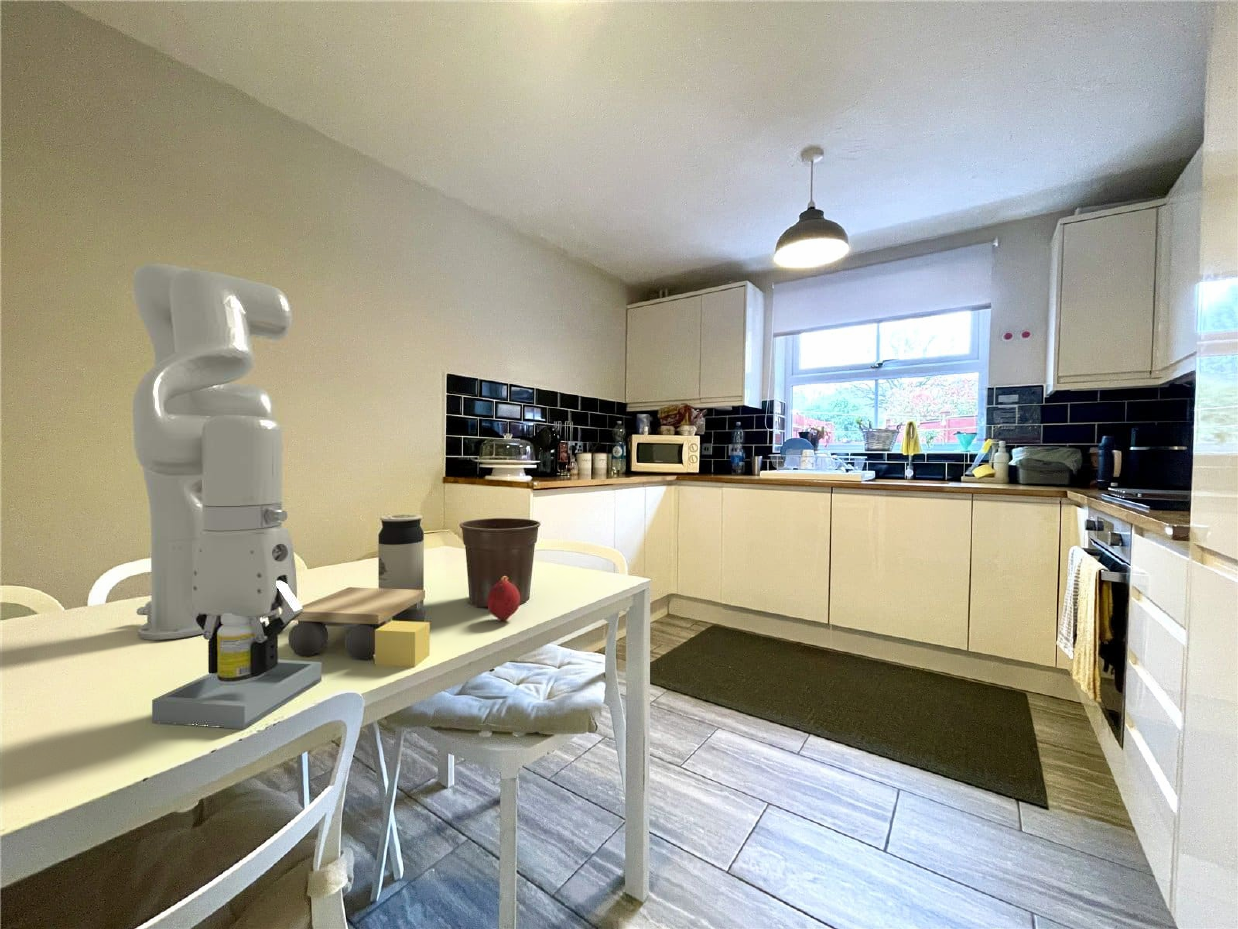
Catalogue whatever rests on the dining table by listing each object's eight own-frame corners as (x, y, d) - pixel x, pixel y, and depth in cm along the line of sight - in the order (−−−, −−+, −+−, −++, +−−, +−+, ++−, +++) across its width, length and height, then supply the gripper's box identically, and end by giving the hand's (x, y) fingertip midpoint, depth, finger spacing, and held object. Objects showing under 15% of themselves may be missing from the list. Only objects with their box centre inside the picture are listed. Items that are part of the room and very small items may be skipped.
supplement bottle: (236, 668, 59) (236, 601, 59) (276, 667, 59) (276, 601, 59) (206, 687, 54) (206, 614, 54) (250, 686, 55) (250, 613, 55)
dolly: (288, 655, 70) (288, 611, 70) (349, 624, 83) (349, 587, 83) (377, 660, 68) (377, 615, 68) (425, 628, 81) (425, 589, 81)
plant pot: (556, 599, 99) (556, 522, 98) (489, 618, 86) (489, 530, 86) (509, 585, 109) (510, 515, 109) (444, 601, 97) (444, 522, 97)
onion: (511, 627, 82) (511, 581, 82) (481, 625, 83) (481, 579, 83) (525, 616, 88) (525, 573, 88) (496, 614, 89) (496, 572, 89)
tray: (152, 722, 52) (152, 700, 52) (243, 676, 63) (243, 657, 63) (244, 729, 51) (244, 706, 51) (321, 681, 62) (321, 662, 62)
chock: (374, 665, 67) (375, 630, 67) (391, 654, 71) (391, 620, 71) (415, 667, 66) (415, 632, 66) (429, 656, 70) (429, 622, 70)
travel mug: (421, 600, 97) (422, 513, 97) (425, 612, 90) (425, 517, 90) (378, 606, 93) (378, 515, 93) (378, 618, 86) (378, 519, 86)
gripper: (331, 517, 60) (331, 661, 60) (210, 514, 61) (210, 653, 62) (282, 525, 52) (282, 689, 52) (146, 521, 54) (147, 680, 54)
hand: (243, 668), depth 57 cm, fingers closed on supplement bottle, 4 cm apart
